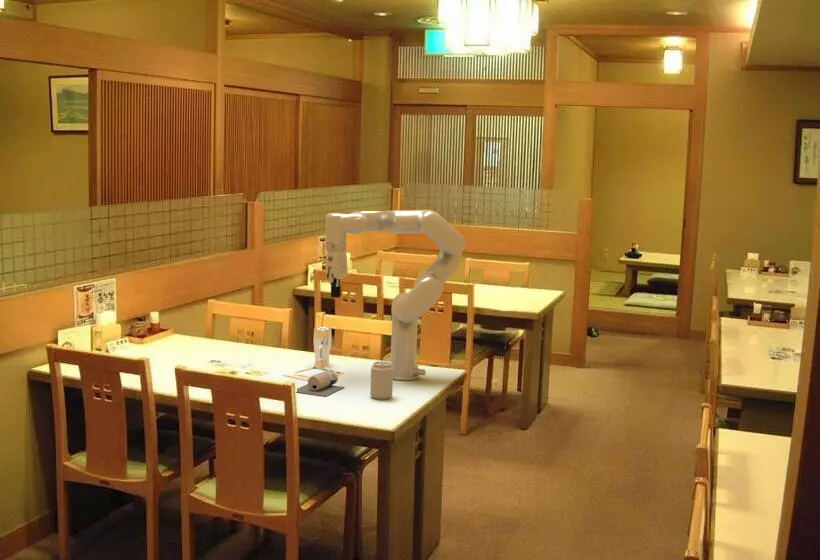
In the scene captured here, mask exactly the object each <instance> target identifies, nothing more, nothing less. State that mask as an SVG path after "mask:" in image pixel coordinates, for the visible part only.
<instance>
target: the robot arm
mask: <svg viewBox="0 0 820 560" xmlns="http://www.w3.org/2000/svg"><path fill="white" fill-rule="evenodd" d="M365 232H382V233H383V232H384V233H388V234H396V235H397V234H426V235H427V236H428V237H429V238H430V239H431V240H432V241H433V242H434V243H435V244H436V245H438V246H439V253H438V255H437V257H436V258H435V260H434V261H433V262H432V263H431V264H430V265H429V266H427V268H426V269H425V270H423V272H422V273H420V274H419V275H417V277H416V279H414V282H413V287H412V289H410V290H409V291H408V292H401V293H399V294H397V295H395V296H394V298H393V299H392V303H391V335H390V336H391V338H390V363H391V366H392V367H393V380H394V379H395V381H415V380H418V379H420V376H426V374H427V372H426V369H425V368H424V369H422V368H419V364H417V349H418V348H417V347H418V346H417V345H418V344H417V342H418V320H420V318H421V317H422V316H423V315H425V313H426V312H427V311H428V310H429V309H430V308H431V307H433V306H434V304H435V303H437V301H439V299H440V298H441V295H442V294H443V291H444V287H443V286H444V285H445V284H446V283H447V281H448V280H450V278H451V277H452V276H453V275H454V274H455V273H456V272H457V270H458V268H459V266H460V264H461V261H462V254H463V252H464V250H465V249H466V239H465V237H464V236H463V234H462V233H460V232H459V231H458V230H457V229H456V228H454V226H453V225H452V224H451V223H449V222H448V221H447V220H446V219H445V218H443V216H441V215H440V214H439V213H438V212H437V211H435V210H432V209H404V210H403V209H401V210H399V209H397V210H395V209H393V210H384V211H382V210H380V211H379V210H376V211H373V210H372V211H370V210H369V211H368V210H367V211H365V210H363V211H352V212H350V213H348V214H346V213H343V212H329V213H327V214H326V215H325V252H326V257H325V278H327V279H328V280H327V281H328V283H330V297H331V298H338V299H339V298H341V296H342V295H341V294H342V293H341V292H342V291H341V290H342V289H341V288H342V281H343V280H344V278H346V277H347V276H348V273H349V271H348V257H347V234H353V235H354V234H355V235H356V234H357V235H359V234H363V233H365Z"/></svg>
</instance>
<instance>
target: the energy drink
mask: <svg viewBox="0 0 820 560" xmlns="http://www.w3.org/2000/svg"><path fill="white" fill-rule="evenodd" d="M335 371H336V370H333V369H329V370H324V371H322V372H319V373H317V374H314V375H310V376H311V377H310V378H309V380H308V381H307V384H308V386H309V388H310V389H311V390H314V391H318V390H320V389H323V388H325V387H328V386H331V385H335V384H337V382H338V381H339V375H337V374H338V372H335Z"/></svg>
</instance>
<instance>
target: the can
mask: <svg viewBox="0 0 820 560" xmlns="http://www.w3.org/2000/svg"><path fill="white" fill-rule="evenodd" d="M393 385H394V379H393V367H392V366H391V362H388V361H381V360H380V361H374V362H373V363H372V365H371V368H370V390H369V391H370V393H369V394H370V396H371V397H372V398H373V399H376V400H381V401H382V400H388V399H390V398H392V397H393Z"/></svg>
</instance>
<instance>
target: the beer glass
mask: <svg viewBox="0 0 820 560" xmlns="http://www.w3.org/2000/svg"><path fill="white" fill-rule="evenodd" d="M332 338H333V337H332V328H331V327H329V326H317V327H316V326H315V327H314V328H313V348H314V355H315V356H314V358H315V359H314V364H313V367H314V366H315V367H319V368H324V369H326V368H325V367H328V368H330V367H329V366H331V363H330V352H331V348H332V340H333V339H332Z"/></svg>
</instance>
